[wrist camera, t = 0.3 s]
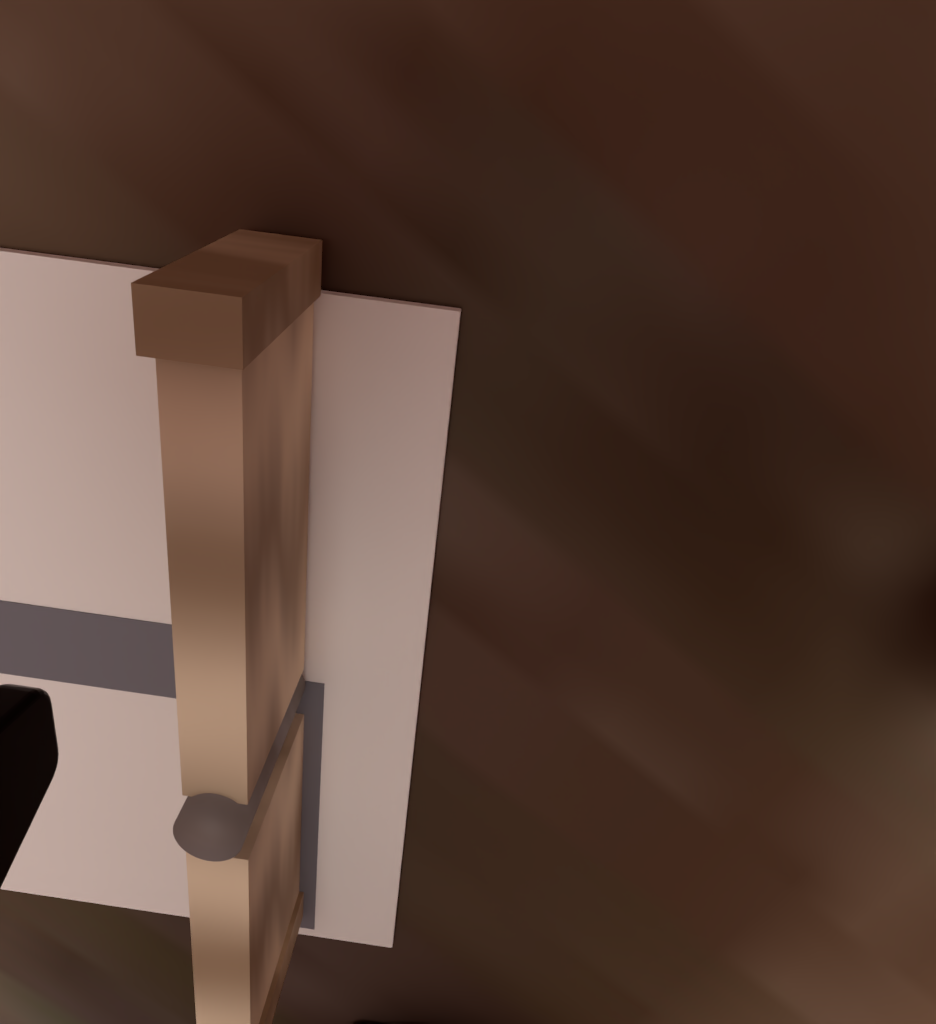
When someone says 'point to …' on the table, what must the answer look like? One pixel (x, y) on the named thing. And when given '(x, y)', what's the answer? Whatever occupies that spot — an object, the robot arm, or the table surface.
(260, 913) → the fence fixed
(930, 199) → the table surface
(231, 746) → the brown tall flat block
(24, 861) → the board
